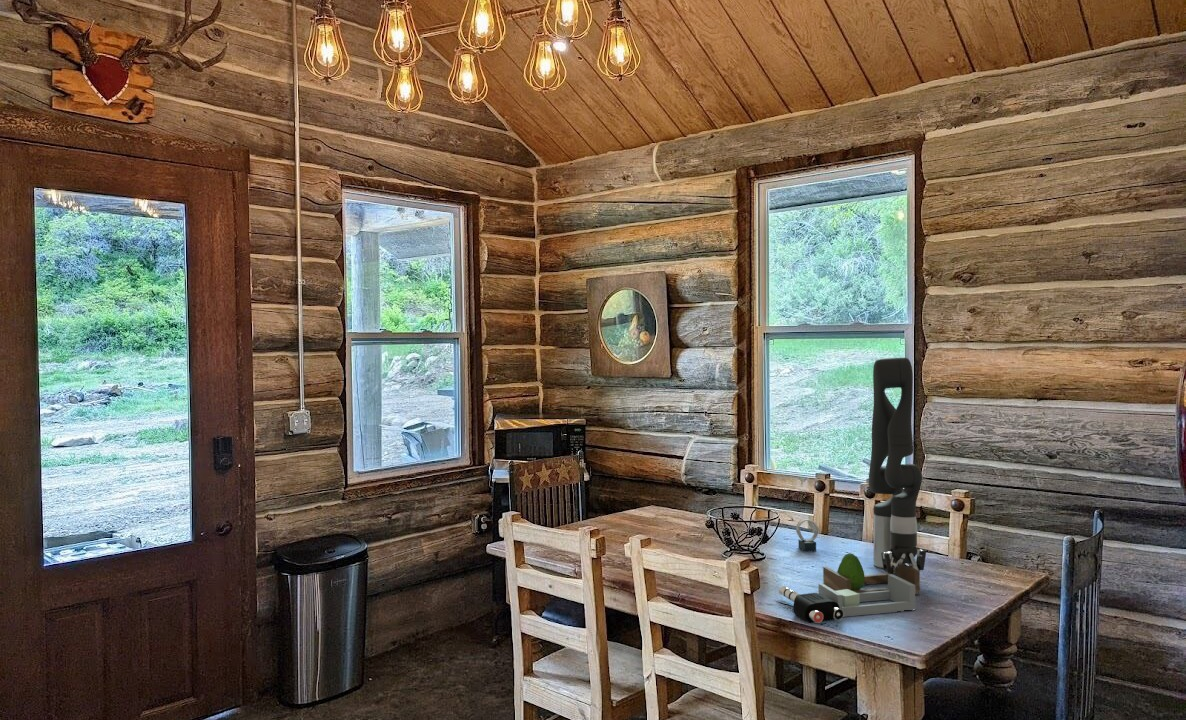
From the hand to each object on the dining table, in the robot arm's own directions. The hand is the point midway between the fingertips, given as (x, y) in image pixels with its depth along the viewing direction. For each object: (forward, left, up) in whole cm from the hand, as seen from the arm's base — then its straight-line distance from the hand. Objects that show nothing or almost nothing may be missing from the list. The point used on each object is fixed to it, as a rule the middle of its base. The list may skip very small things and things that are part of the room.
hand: (903, 584), depth 247 cm
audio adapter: (+39, +11, -1) cm, 40 cm away
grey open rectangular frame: (+21, +14, -1) cm, 25 cm away
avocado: (+18, 0, -1) cm, 18 cm away
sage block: (+27, +14, -1) cm, 30 cm away
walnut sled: (+12, 0, -1) cm, 12 cm away
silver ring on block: (+7, -49, -1) cm, 49 cm away
